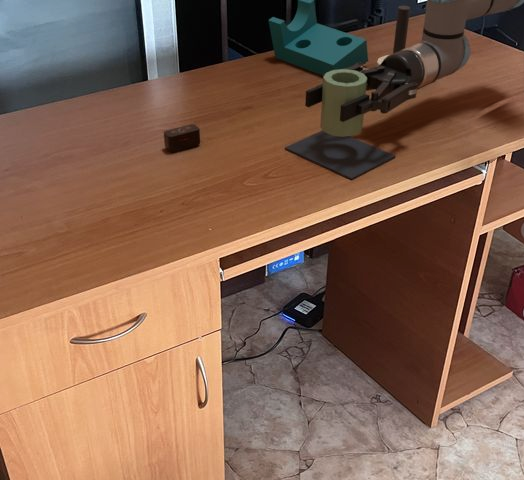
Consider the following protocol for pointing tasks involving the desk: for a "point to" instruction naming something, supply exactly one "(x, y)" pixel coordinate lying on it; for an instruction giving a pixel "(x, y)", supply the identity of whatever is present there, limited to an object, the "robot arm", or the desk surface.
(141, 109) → the desk surface
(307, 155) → the mat
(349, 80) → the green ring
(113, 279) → the desk surface
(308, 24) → the teal l-shaped bracket
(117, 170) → the desk surface
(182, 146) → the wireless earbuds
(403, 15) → the stack stand
